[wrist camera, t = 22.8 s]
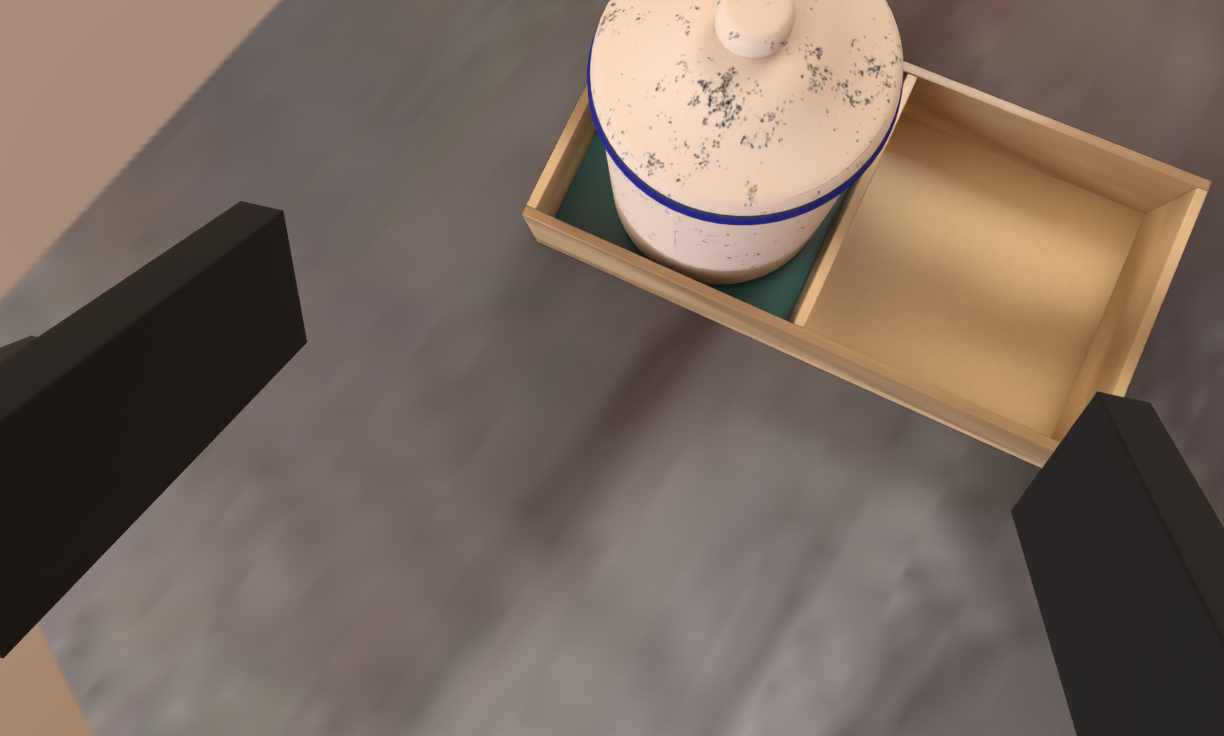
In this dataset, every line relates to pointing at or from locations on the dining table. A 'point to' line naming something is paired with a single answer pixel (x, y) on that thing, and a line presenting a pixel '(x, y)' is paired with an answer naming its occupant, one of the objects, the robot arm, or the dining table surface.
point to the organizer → (939, 263)
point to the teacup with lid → (739, 122)
